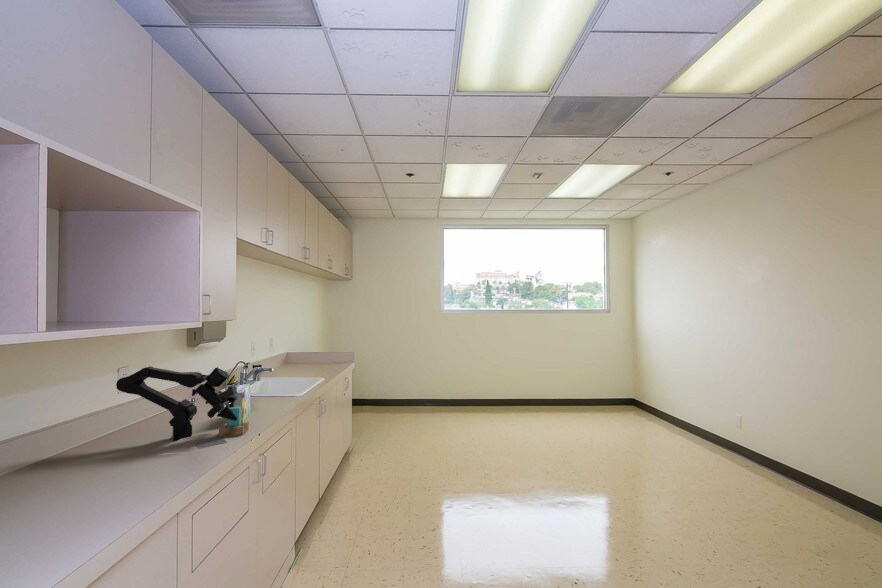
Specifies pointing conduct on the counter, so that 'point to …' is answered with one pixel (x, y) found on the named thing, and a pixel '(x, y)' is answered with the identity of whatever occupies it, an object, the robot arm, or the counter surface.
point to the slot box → (234, 430)
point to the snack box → (243, 400)
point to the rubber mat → (210, 442)
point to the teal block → (237, 413)
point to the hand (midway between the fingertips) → (237, 418)
